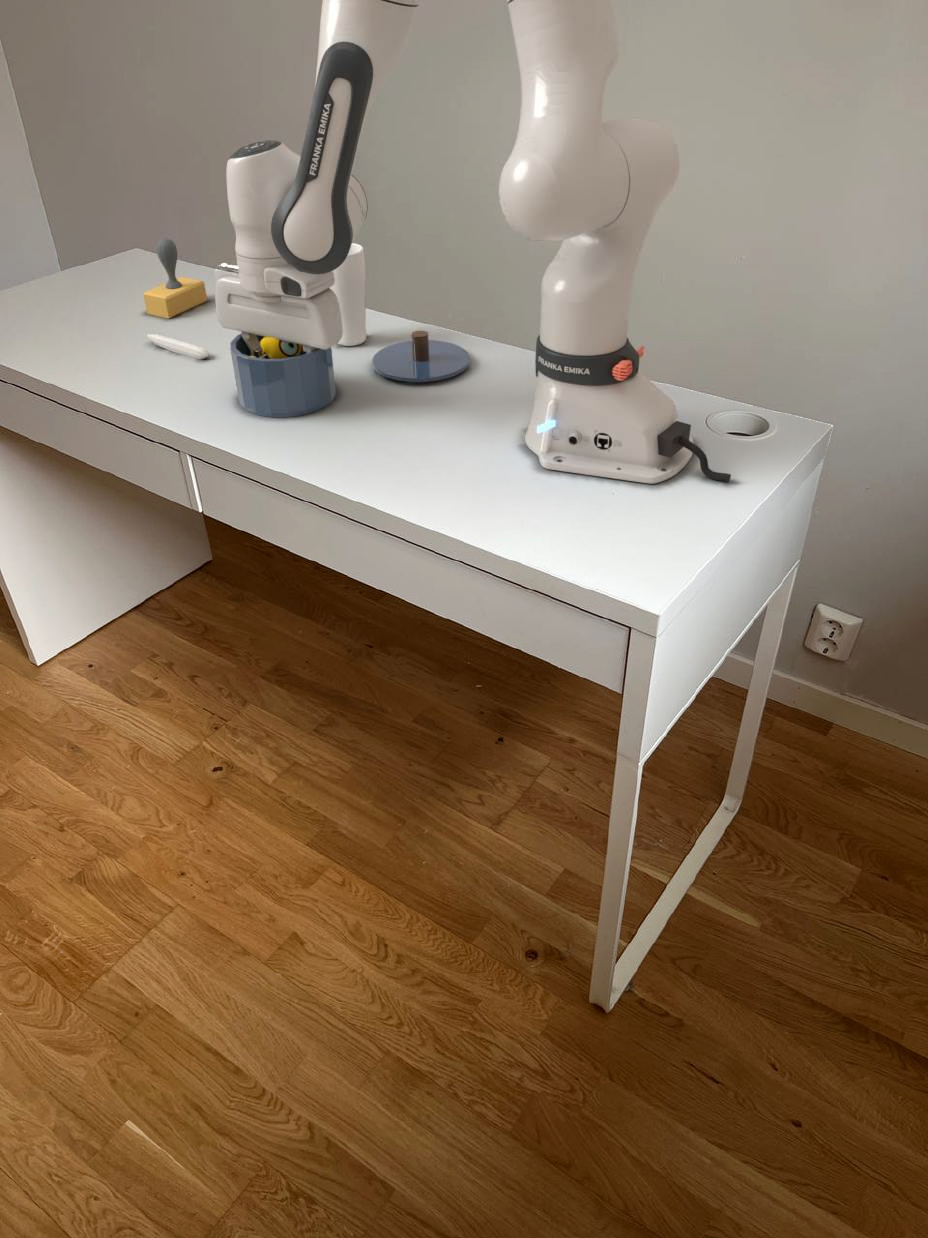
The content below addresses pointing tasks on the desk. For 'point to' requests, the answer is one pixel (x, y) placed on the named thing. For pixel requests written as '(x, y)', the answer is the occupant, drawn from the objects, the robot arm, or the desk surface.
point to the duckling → (280, 348)
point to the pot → (283, 381)
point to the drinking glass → (352, 296)
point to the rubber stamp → (173, 287)
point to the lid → (421, 359)
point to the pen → (178, 346)
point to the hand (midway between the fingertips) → (283, 365)
